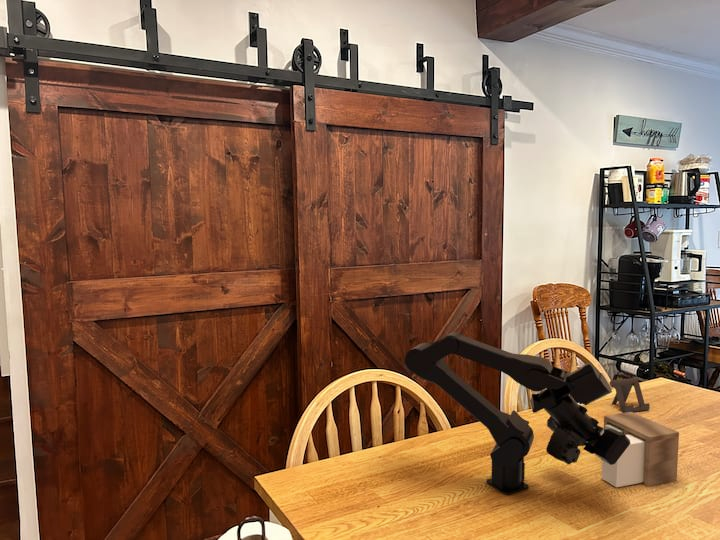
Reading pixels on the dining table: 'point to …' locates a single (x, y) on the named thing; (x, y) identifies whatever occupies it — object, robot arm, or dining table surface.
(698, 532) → the dining table surface
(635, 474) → the white plug
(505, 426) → the robot arm
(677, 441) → the walnut housing
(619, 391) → the portable electronic device stand
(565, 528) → the dining table surface
